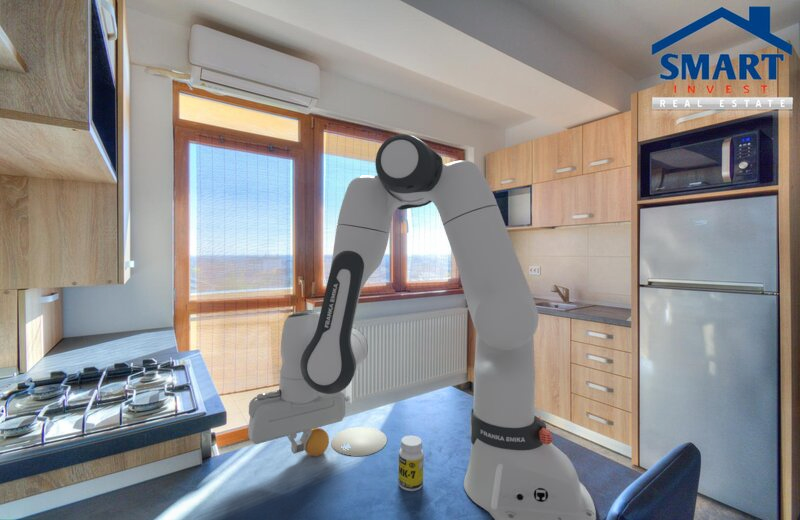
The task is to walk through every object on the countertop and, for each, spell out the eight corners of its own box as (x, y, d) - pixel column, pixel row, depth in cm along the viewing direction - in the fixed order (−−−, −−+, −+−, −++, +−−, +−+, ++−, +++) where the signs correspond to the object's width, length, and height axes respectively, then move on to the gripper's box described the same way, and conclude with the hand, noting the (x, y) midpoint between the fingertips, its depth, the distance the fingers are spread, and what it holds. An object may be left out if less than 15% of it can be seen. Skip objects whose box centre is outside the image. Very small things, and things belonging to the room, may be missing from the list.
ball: (310, 466, 75) (333, 451, 78) (309, 454, 72) (333, 439, 75) (299, 444, 78) (321, 431, 81) (298, 431, 75) (321, 418, 78)
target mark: (393, 431, 87) (393, 430, 87) (376, 460, 75) (376, 459, 75) (345, 424, 90) (345, 424, 90) (321, 451, 78) (321, 450, 78)
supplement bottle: (393, 487, 66) (394, 442, 66) (405, 473, 70) (405, 431, 70) (416, 495, 64) (417, 449, 64) (427, 481, 68) (427, 437, 68)
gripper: (253, 401, 65) (250, 475, 65) (349, 382, 78) (347, 444, 77) (245, 390, 70) (242, 458, 70) (337, 374, 83) (334, 432, 83)
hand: (298, 450), depth 74 cm, fingers closed
